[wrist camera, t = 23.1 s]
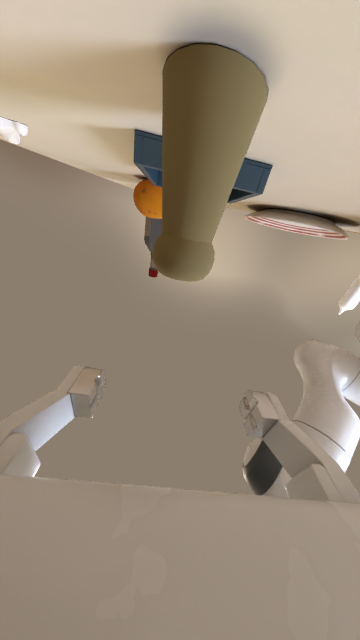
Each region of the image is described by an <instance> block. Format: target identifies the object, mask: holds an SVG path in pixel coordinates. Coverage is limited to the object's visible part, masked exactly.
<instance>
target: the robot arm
mask: <svg viewBox="0 0 360 640" xmlns="http://www.w3.org/2000/svg"><path fill="white" fill-rule="evenodd" d="M355 335H356V337H357V339H358V340H359V341H360V322H359V323H358V324H357V325H356V328H355ZM294 363H295V365H296V367H297V368H298V370H299V372H300V374H301V377H302V380H303V384H304V395H303V399H302V401H301V404H300V406H299V409H298V410H297V412H296V414H295V417H294V418H293V420H292V422H290V420H289V419H288V417H287V415H286V413H285V411H284V409H283V408H282V406H281V404H280V402H279V400H278V398H277V396H276V395H275V394H274V393H268V392H261V391H253V390H248V391H247V392H246V393H245V395H246V397H244V398H242V400H241V402H240V412H241V415H242V417H243V418H244V419H245V422H244V426H245V429H246V432H247V435H248V436H252V437H258V438H256V439H255V440H253V441H252V442H251V443H250V444H249V446H248V448H247V450H246V453H245V457H244V463H243V475H244V478H245V480H246V481H247V483H248V484H249V486H250V488H251V489H252V491H253V492H254V493H255V495H248V494H237V493H225V492H213V491H200V490H189V489H177V488H165V487H152V486H141V485H128V484H116V483H104V482H91V481H80V480H68V479H55V478H43V477H34V475H35V473H36V471H37V470H38V468H39V466H40V460H39V458H38V456H37V454H36V452H35V451H36V450H37V449H39V448H40V447H41V446H42V445H43V444H44V443H45V442H47V441H48V440H49V439H50V438H51V437H52V436H54V435H55V434H56V433H57V432H58V431H59V430H61V429H62V428H63V427H64V426H65V425H66V424H68V423H69V422H70V421H71V420H72V419H73V418H74V416H75V417H87V418H92V417H93V415H94V413H95V411H96V408H97V406H98V400H99V399H100V398H101V397H102V395H103V392H104V389H105V385H106V380H105V379H104V376H105V370H102V369H96V368H90V367H83V366H78V365H75V366H74V367H73V368H72V369H71V370H70V372H69V373H68V374H67V375H66V377H65V378H64V380H63V381H62V382H61V384H60V385H59V386H58V388H57V389H56V390H55V392H53V391H51V392H49V393H48V394H46V395H44V396H42V397H41V398H39V399H37V400H35V401H34V402H32V403H30V404H28V405H27V406H25V407H23V408H21V409H20V410H18V411H16V412H15V413H13V414H11V415H9V416H7V417H6V418H4V419H2V420H1V421H0V640H360V495H359V494H358V492H357V491H356V489H355V487H354V486H353V484H352V483H351V481H350V480H349V478H348V477H347V475H346V474H345V472H346V470H347V467H348V465H349V463H350V460H351V458H352V455H353V453H354V450H355V448H356V445H357V442H358V440H359V438H360V420H359V418H358V416H357V415H356V413H355V412H354V411H353V409H352V408H351V407H350V406H349V404H348V403H347V402H346V400H345V398H347V399H348V400H350V401H352V402H354V403H355V404H357V405H359V406H360V358H359V357H357V356H355V355H353V354H351V353H349V352H347V351H344V350H342V349H340V348H338V347H336V346H334V345H331V344H328V343H325V342H321V341H318V340H314V339H312V340H308V341H305V342H303V343H302V344H300V345H299V346H298V347H297V349H296V350H295V353H294ZM344 397H345V398H344Z"/></svg>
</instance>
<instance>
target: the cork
mask: <svg viewBox="0 0 360 640" xmlns="http://www.w3.org/2000/svg"><path fill="white" fill-rule="evenodd" d="M267 95H268V87H267V84H266V80H265V77H264V75H263V74H262V73H261V72H260V70H259V69H258V68H257V66H256V65H255V64H254V63H253V62H251V61H250V60H249V59H247V58H246V57H244V56H243V55H241V54H240V53H238V52H236V51H233V50H230V49H227V48H224V47H221V46H218V45H202V44H194V45H191V46H188V47H185V48H182V49H178V50H177V51H176V52H175V53H173V54H172V55H171V56H170V57H169V58H168V59H167V60H166V63H165V66H164V69H163V120H162V233H161V234H160V235H159V236H158V237H157V239H156V240H155V243H154V246H153V252H152V257H153V263H154V265H155V267H156V269H157V270H158V271H159V272H160V273H161V274H163V275H165V276H167V277H169V278H172V279H176V280H181V281H198V280H201V279H203V278H204V277H205V276H206V275H207V274H208V273H209V272H210V270H211V268H212V266H213V262H214V249H213V245H212V240H213V238H214V235H215V233H216V230H217V227H218V225H219V222H220V220H221V217H222V215H223V212H224V209H225V207H226V204H227V202H228V199H229V197H230V194H231V191H232V189H233V186H234V184H235V181H236V178H237V176H238V173H239V171H240V168H241V166H242V163H243V160H244V158H245V155H246V153H247V150H248V148H249V145H250V142H251V140H252V137H253V135H254V132H255V130H256V127H257V124H258V122H259V119H260V117H261V114H262V112H263V109H264V106H265V104H266V101H267Z"/></svg>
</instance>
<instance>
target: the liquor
mask: <svg viewBox="0 0 360 640" xmlns="http://www.w3.org/2000/svg"><path fill="white" fill-rule="evenodd" d="M161 233H162V219H156V218H149V217H146V225H145V237H144V240H145V244H146V245H147V247H148V249H149V250H150V251H151V265H150V268H149V276H150V277H157V274H158V270H157V269H156V267H155V265H154V263H153V257H152V252H153V246H154V243H155V240H156V239H157V237H158V236H159V235H160V234H161Z"/></svg>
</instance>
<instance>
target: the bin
mask: <svg viewBox="0 0 360 640" xmlns="http://www.w3.org/2000/svg"><path fill="white" fill-rule="evenodd" d="M134 163H135V165H136V166H137V167H138V168H139V169H140V170H141V172H142V173H143V174H144V175H145V176H146V177H147V178H148V180H149V181H150V182H151V183H152V184H153V185H154V186H158V187H162V137H161V136H157V135H153V134H149V133H145V132H142V131H138V130H135V140H134ZM271 169H272V166H271V165H267V164H264V163H260V162H256V161H252V160H248V159H245V158H244V160H243V163H242V166H241V168H240V171H239V173H238V176H237V178H236V181H235V184H234V186H233V189H232V191H231V194H230V197H229V199H228V202H227V203H230V204H231V203H234V202H237V201H241V200H244V199H247V198H251V197H254V196H257V195H261V194H263V191H264V188H265V185H266V182H267V180H268V177H269V174H270V171H271Z"/></svg>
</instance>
